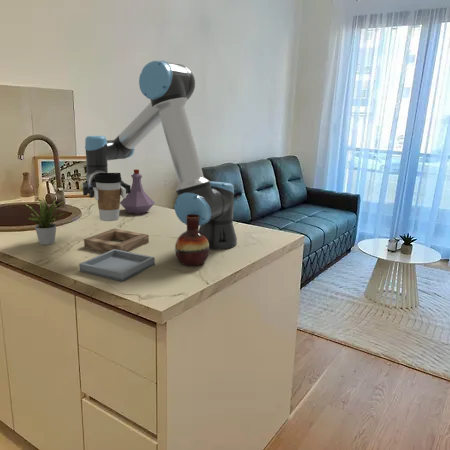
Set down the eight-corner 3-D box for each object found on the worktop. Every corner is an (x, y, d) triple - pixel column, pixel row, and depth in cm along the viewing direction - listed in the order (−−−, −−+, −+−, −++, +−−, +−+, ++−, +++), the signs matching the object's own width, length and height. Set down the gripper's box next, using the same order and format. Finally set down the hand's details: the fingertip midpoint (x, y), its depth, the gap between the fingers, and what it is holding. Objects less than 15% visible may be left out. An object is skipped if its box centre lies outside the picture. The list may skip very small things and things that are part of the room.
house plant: (79, 241, 156) (76, 197, 152) (47, 251, 145) (43, 204, 140) (53, 234, 163) (50, 192, 159) (20, 243, 152) (16, 198, 147)
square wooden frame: (148, 242, 157) (148, 234, 157) (120, 254, 143) (120, 246, 143) (114, 236, 164) (114, 228, 163) (84, 247, 150) (83, 239, 149)
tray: (154, 264, 136) (154, 257, 135) (122, 281, 122) (122, 273, 121) (114, 256, 142) (114, 249, 141) (79, 271, 128) (79, 263, 127)
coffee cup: (114, 223, 133) (112, 175, 129) (90, 220, 135) (88, 173, 132) (127, 217, 141) (126, 172, 137) (104, 215, 143) (103, 170, 139)
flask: (136, 217, 192) (135, 173, 187) (112, 211, 202) (110, 169, 196) (162, 211, 205) (161, 170, 200) (138, 206, 214) (137, 166, 209)
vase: (178, 269, 132) (178, 221, 128) (172, 256, 143) (172, 211, 138) (212, 266, 135) (214, 220, 131) (204, 254, 146) (205, 210, 141)
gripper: (130, 191, 156) (144, 204, 136) (71, 194, 149) (76, 208, 128) (129, 171, 155) (143, 181, 134) (69, 173, 147) (75, 184, 126)
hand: (111, 194), depth 131 cm, fingers closed on coffee cup, 8 cm apart
